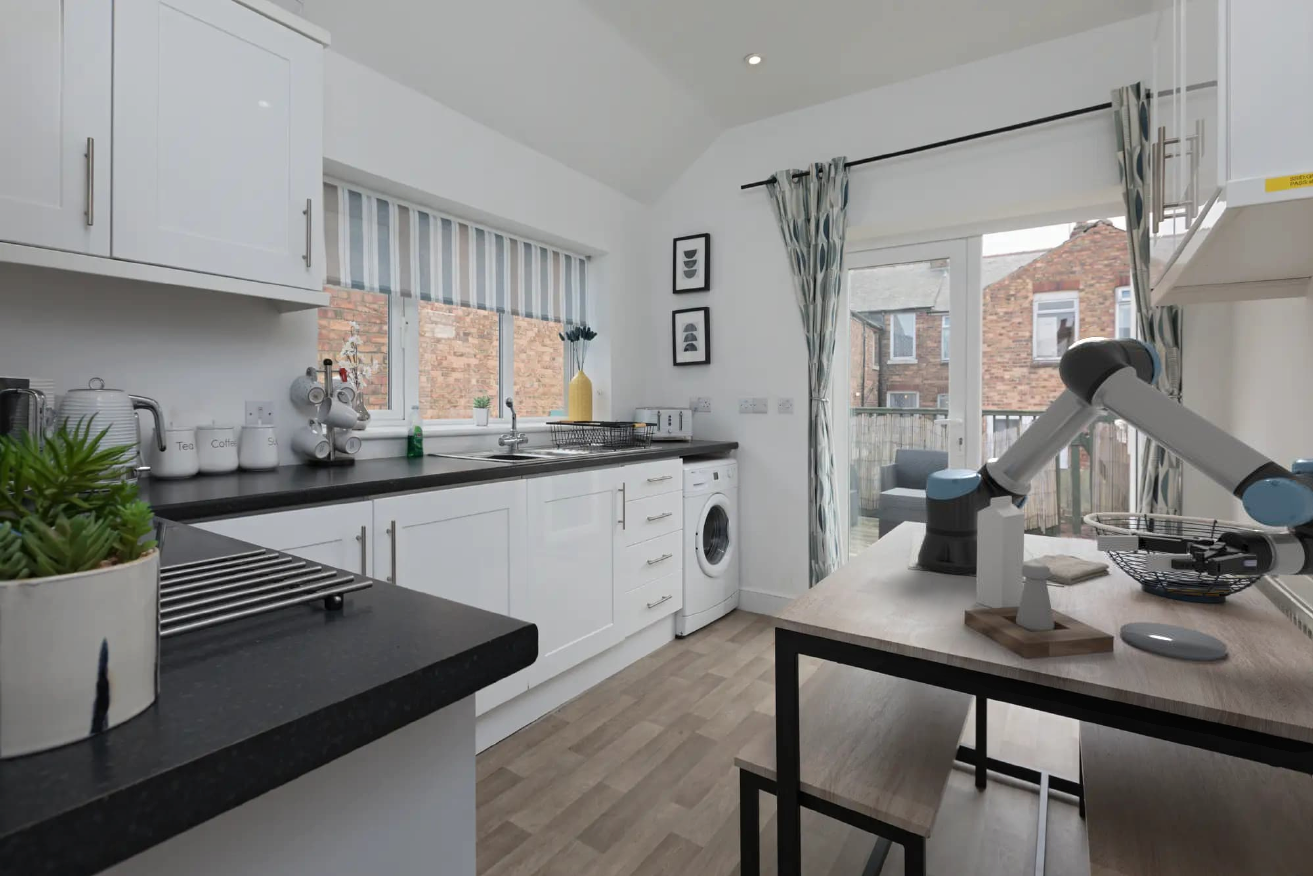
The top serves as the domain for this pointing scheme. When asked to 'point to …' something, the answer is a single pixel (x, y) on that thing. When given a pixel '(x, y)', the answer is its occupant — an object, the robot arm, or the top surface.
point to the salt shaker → (1035, 599)
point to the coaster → (1173, 641)
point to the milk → (1000, 554)
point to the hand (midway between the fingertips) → (1121, 552)
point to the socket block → (1039, 634)
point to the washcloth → (1071, 568)
